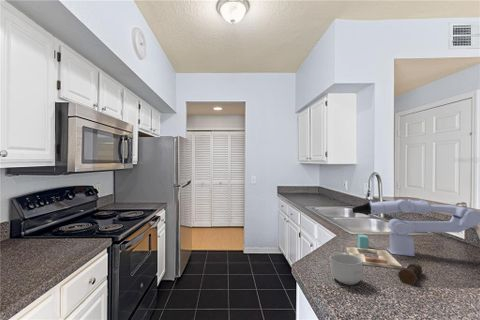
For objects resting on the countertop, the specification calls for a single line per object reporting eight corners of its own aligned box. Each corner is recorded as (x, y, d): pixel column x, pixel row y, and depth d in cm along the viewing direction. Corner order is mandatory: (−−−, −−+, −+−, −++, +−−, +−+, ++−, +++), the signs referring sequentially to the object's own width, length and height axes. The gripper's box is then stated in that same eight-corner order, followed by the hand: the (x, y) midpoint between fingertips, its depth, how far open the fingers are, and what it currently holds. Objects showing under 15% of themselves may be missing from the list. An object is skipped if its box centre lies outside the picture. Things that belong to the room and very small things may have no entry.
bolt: (419, 278, 92) (409, 289, 82) (406, 268, 96) (394, 277, 86) (428, 267, 91) (419, 276, 81) (414, 257, 94) (404, 265, 84)
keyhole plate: (386, 253, 115) (386, 247, 115) (402, 269, 96) (402, 262, 96) (346, 249, 120) (346, 244, 120) (353, 263, 101) (353, 257, 101)
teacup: (361, 291, 77) (361, 266, 78) (326, 282, 83) (326, 259, 83) (365, 275, 89) (364, 254, 89) (334, 269, 95) (334, 248, 95)
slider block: (366, 246, 125) (366, 235, 125) (368, 249, 120) (368, 237, 121) (357, 245, 126) (357, 234, 126) (359, 248, 121) (359, 236, 122)
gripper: (377, 201, 127) (350, 203, 131) (384, 197, 114) (353, 200, 118) (381, 214, 125) (353, 216, 129) (387, 212, 112) (356, 215, 116)
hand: (353, 210), depth 123 cm, fingers open, 7 cm apart
